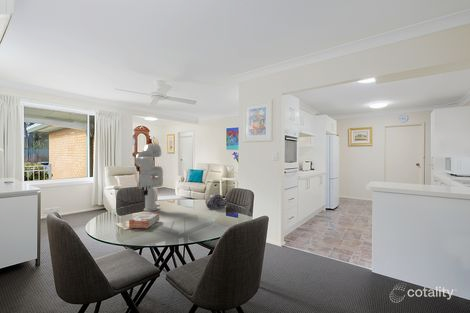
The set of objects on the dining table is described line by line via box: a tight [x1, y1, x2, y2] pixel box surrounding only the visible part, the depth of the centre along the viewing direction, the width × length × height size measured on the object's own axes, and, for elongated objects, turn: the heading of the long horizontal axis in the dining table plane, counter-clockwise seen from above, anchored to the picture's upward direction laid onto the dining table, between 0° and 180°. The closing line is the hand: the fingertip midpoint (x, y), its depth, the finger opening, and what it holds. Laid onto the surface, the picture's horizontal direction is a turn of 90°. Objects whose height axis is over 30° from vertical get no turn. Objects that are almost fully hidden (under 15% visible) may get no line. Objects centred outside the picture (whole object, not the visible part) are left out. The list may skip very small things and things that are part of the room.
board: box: [114, 220, 133, 231], centre depth 183 cm, size 22×20×1 cm
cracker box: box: [128, 212, 160, 229], centre depth 180 cm, size 14×6×21 cm
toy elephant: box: [205, 193, 228, 210], centre depth 233 cm, size 20×18×15 cm
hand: (145, 194), depth 190 cm, fingers closed
